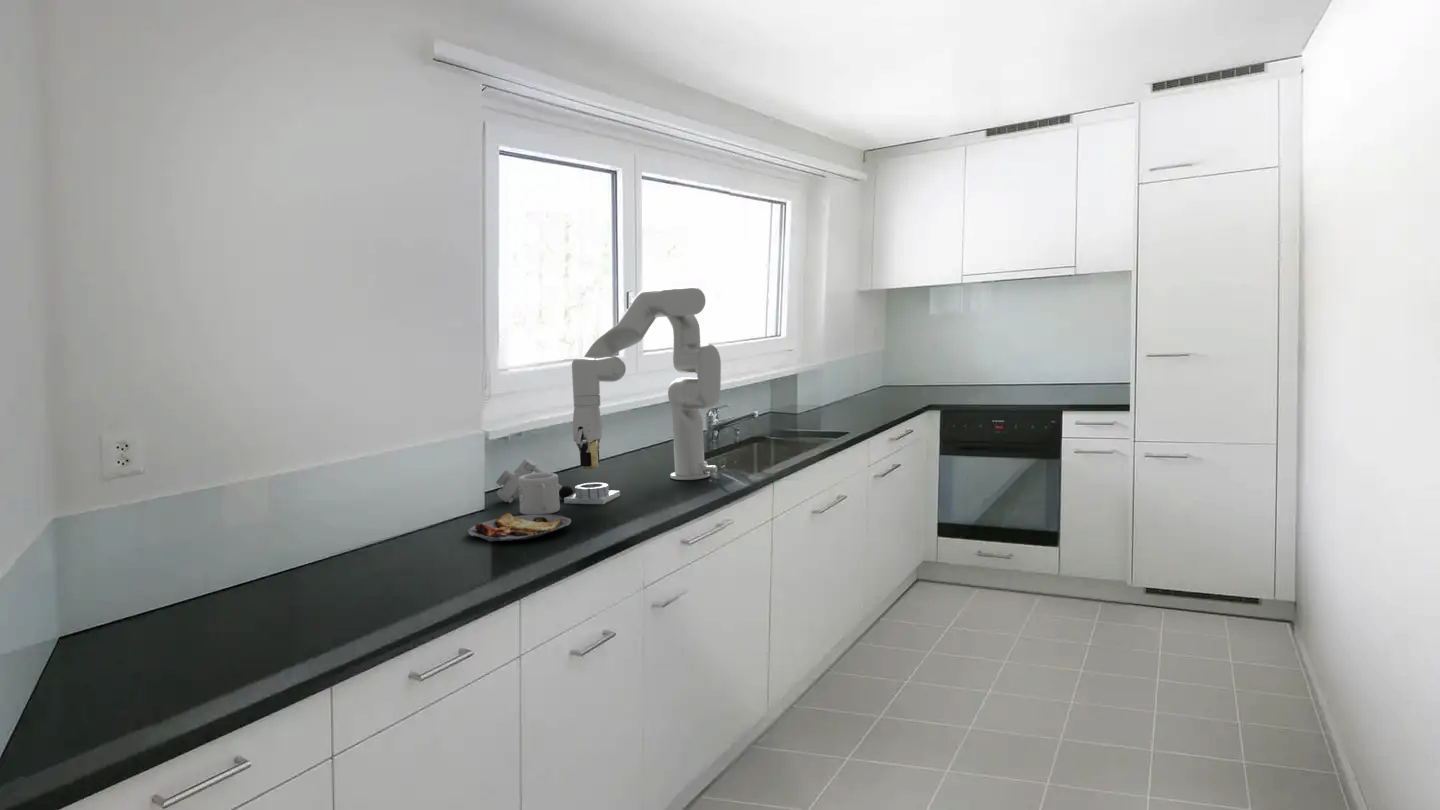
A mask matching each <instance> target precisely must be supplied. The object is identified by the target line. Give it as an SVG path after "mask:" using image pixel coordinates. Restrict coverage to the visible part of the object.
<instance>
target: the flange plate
mask: <svg viewBox="0 0 1440 810" xmlns="http://www.w3.org/2000/svg"><path fill="white" fill-rule="evenodd" d="M574 490H575V493H574V492H573V494H572V495H570V496H568V497H566V498H564V500H563V501H564V502H563V503H564V504H570V505H571V504H572V505H573V504H576V505H577V504H578V505H579V504H580V505H605V504H607V503H609V502H610V501H612V500H614V499H617V498H618V497H620V496H621V490H610V486H609V484H608V483H606V482H587V483H581V484H577V485H575V486H574Z"/></svg>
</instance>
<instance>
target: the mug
mask: <svg viewBox="0 0 1440 810" xmlns="http://www.w3.org/2000/svg"><path fill="white" fill-rule="evenodd" d="M518 484H519V494H518V501H519V512H520V514H521V515H545V514H549V515H550V514H555V513H557V512H558V511H560V510H561V509H560V508H561V504H560V502H561V501H560V496H559V490H558V484H559V475H558V474H557V473H553V472H544V473H535V472H532V474H526V475H522V476H520V477H519V478H518Z"/></svg>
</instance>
